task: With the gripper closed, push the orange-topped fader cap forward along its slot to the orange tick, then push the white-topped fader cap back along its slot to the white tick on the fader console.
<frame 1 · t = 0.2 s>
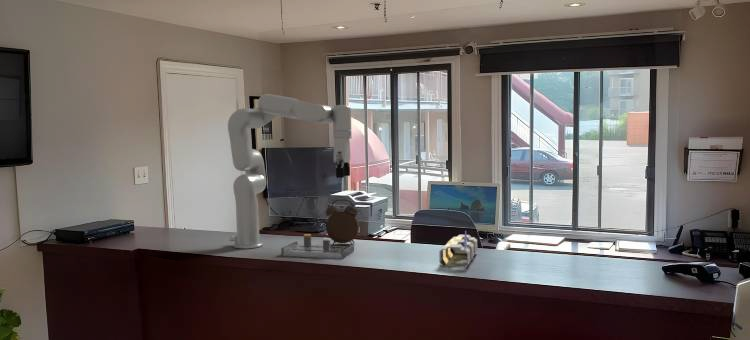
hand: (343, 176, 228), 31 cm above the table, tool pointing down, fingers open, 9 cm apart
console: (318, 253, 223), on the table
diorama: (459, 261, 208), on the table
alarm clock: (343, 244, 242), on the table
fader cap A: (307, 240, 228), point 5 cm above the table, slide at 2.0 cm
fader cap B: (326, 244, 218), point 5 cm above the table, slide at 13.0 cm
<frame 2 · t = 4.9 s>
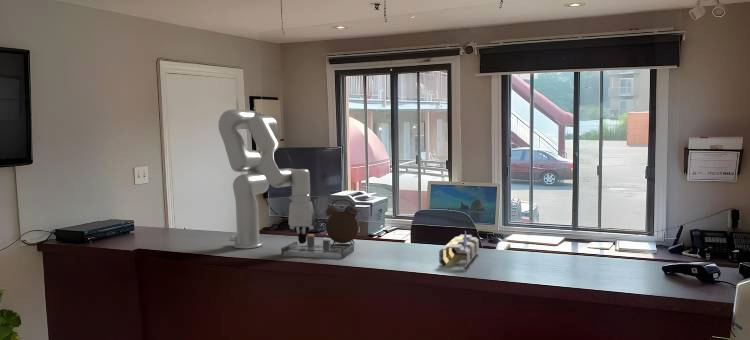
hand: (302, 242, 229), 3 cm above the table, tool pointing down, fingers closed
fader cap A: (310, 240, 228), point 5 cm above the table, slide at 3.5 cm, touching gripper
everything else where it was.
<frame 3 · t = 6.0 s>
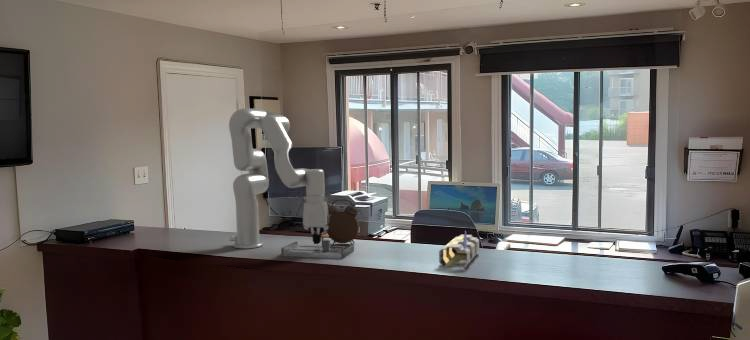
hand: (316, 243, 227), 3 cm above the table, tool pointing down, fingers closed
fader cap A: (325, 240, 226), point 5 cm above the table, slide at 9.8 cm, touching gripper
everything else where it was.
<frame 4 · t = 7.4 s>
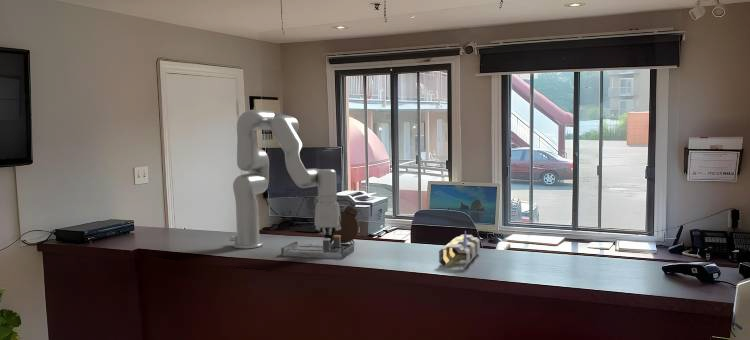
hand: (328, 244, 226), 3 cm above the table, tool pointing down, fingers closed
fader cap A: (337, 241, 225), point 5 cm above the table, slide at 15.0 cm, touching gripper
everything else where it was.
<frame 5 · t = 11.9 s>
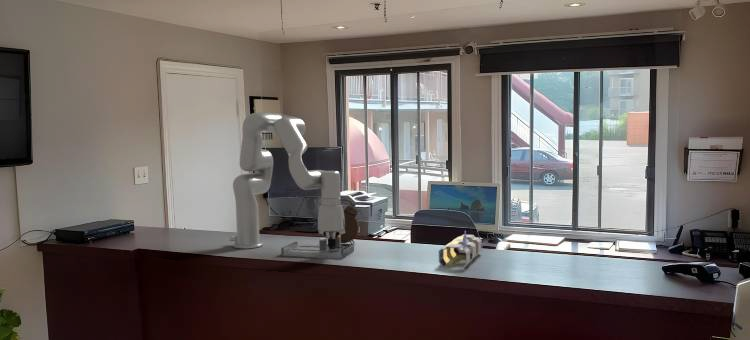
hand: (332, 248, 218), 3 cm above the table, tool pointing down, fingers closed
fader cap A: (337, 241, 225), point 5 cm above the table, slide at 15.0 cm
fader cap B: (323, 244, 219), point 5 cm above the table, slide at 11.5 cm, touching gripper
everything else where it was.
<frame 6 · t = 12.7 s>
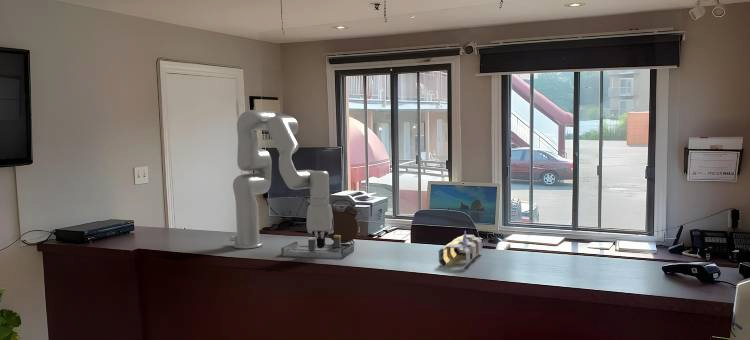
hand: (320, 247, 219), 3 cm above the table, tool pointing down, fingers closed
fader cap B: (312, 243, 220), point 5 cm above the table, slide at 6.8 cm, touching gripper
everything else where it was.
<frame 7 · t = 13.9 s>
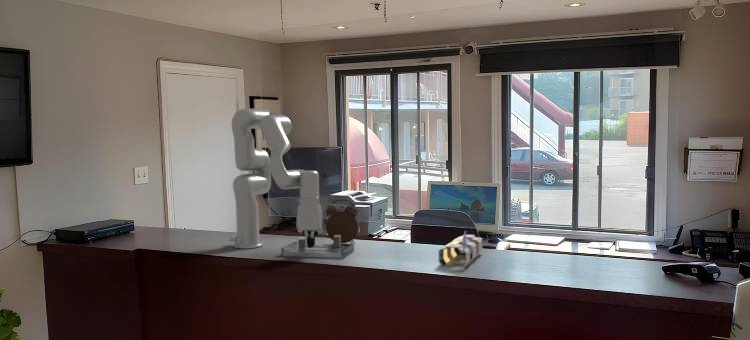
hand: (310, 247, 220), 3 cm above the table, tool pointing down, fingers closed
fader cap B: (302, 243, 221), point 5 cm above the table, slide at 2.5 cm, touching gripper
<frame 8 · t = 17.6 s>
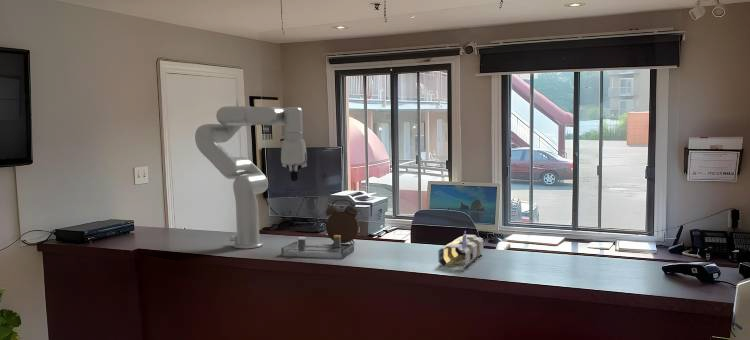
hand: (294, 180, 230), 29 cm above the table, tool pointing down, fingers closed
fader cap B: (301, 243, 221), point 5 cm above the table, slide at 2.4 cm
at the end: fader cap A slide at 15.0 cm; fader cap B slide at 2.4 cm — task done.
